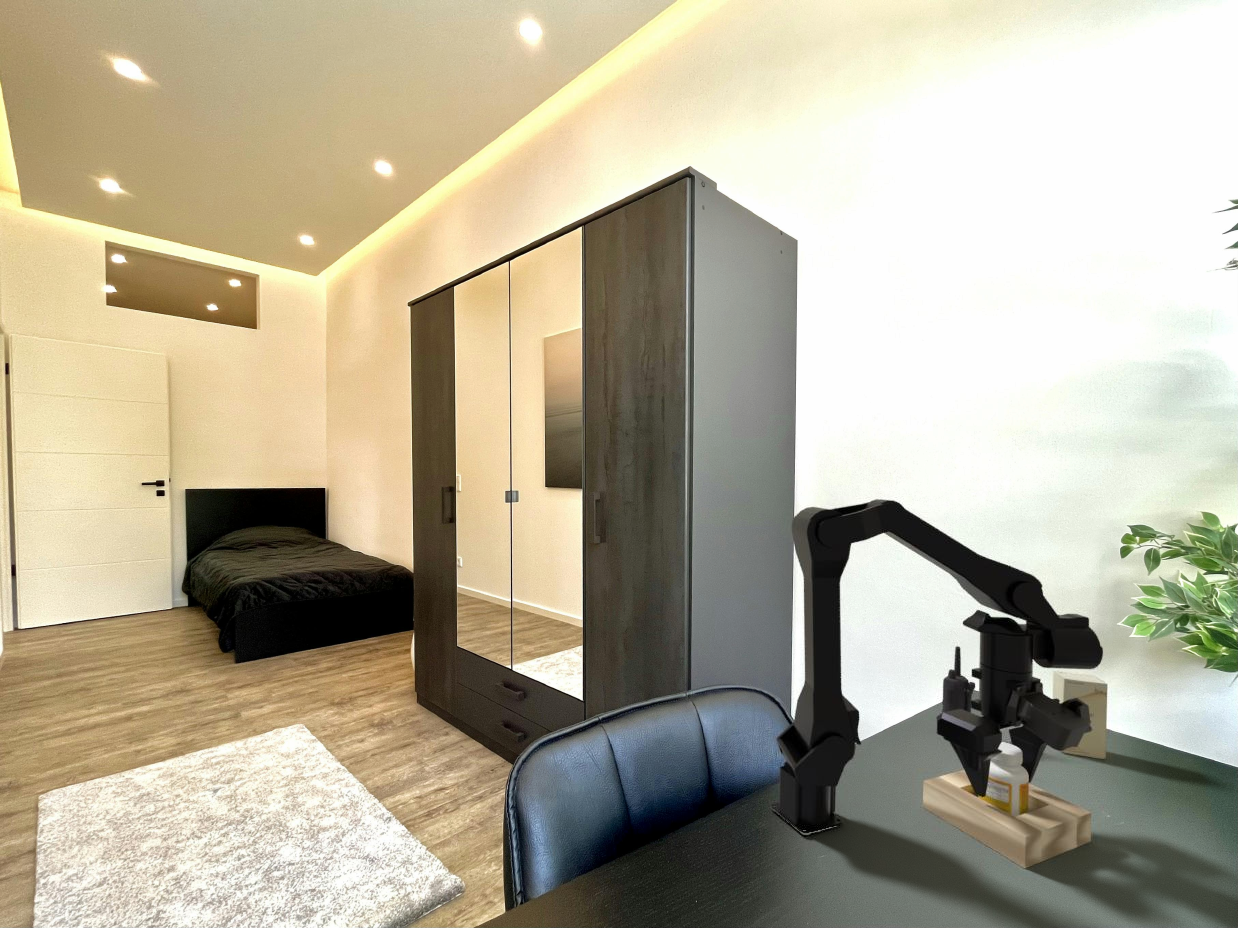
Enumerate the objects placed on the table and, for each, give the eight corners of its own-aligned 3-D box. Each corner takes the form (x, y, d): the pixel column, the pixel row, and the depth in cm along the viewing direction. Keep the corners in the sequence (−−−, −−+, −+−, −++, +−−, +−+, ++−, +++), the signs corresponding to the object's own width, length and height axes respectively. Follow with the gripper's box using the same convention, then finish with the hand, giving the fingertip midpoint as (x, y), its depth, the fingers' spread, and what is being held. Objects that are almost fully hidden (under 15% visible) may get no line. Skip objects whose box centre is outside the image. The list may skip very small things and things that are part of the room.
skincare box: (1061, 753, 95) (1062, 678, 95) (1050, 741, 99) (1051, 669, 99) (1108, 760, 93) (1109, 683, 93) (1094, 747, 97) (1095, 674, 97)
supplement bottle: (1012, 813, 77) (1013, 739, 77) (1038, 838, 72) (1039, 758, 72) (969, 809, 77) (970, 736, 78) (991, 834, 72) (993, 755, 72)
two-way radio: (951, 727, 104) (953, 642, 104) (979, 736, 100) (980, 648, 100) (938, 735, 100) (940, 647, 100) (967, 745, 97) (968, 654, 97)
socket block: (1025, 868, 66) (1025, 836, 66) (923, 807, 78) (923, 780, 78) (1090, 841, 71) (1091, 812, 71) (986, 788, 83) (986, 763, 83)
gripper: (1026, 698, 64) (1024, 842, 63) (1120, 678, 71) (1119, 806, 71) (934, 666, 74) (931, 790, 73) (1025, 651, 81) (1023, 764, 81)
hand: (1003, 788), depth 74 cm, fingers open, 9 cm apart
